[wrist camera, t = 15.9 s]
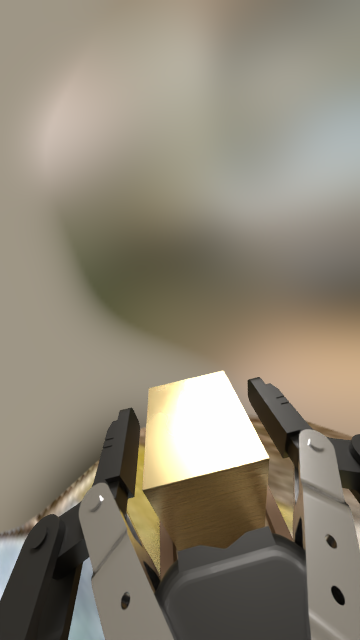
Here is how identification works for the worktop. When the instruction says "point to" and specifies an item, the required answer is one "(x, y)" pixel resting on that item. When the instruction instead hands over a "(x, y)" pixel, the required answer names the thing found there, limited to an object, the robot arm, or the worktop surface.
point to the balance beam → (271, 519)
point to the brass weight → (203, 463)
